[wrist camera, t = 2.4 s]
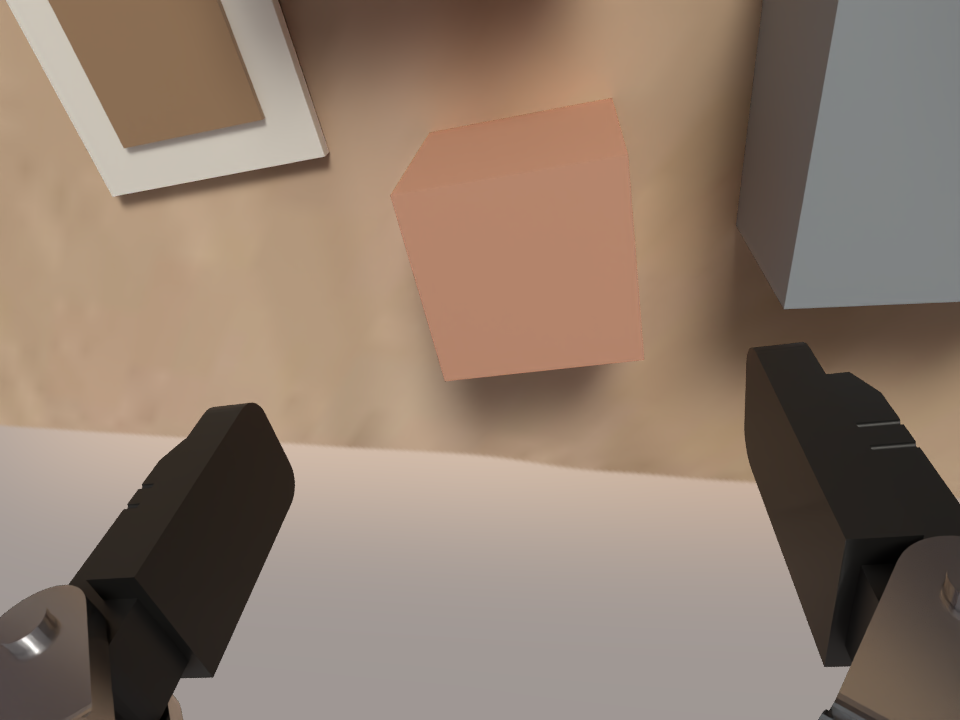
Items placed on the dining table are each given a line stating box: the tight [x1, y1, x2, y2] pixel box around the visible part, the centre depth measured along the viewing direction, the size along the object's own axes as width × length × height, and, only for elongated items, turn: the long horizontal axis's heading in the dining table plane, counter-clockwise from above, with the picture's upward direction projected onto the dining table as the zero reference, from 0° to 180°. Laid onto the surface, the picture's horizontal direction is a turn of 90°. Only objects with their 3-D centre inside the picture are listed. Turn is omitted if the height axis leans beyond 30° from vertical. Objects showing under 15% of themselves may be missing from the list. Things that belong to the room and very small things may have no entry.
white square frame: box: [6, 0, 329, 197], centre depth 17 cm, size 7×7×1 cm
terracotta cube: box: [390, 98, 644, 381], centre depth 16 cm, size 5×5×5 cm
